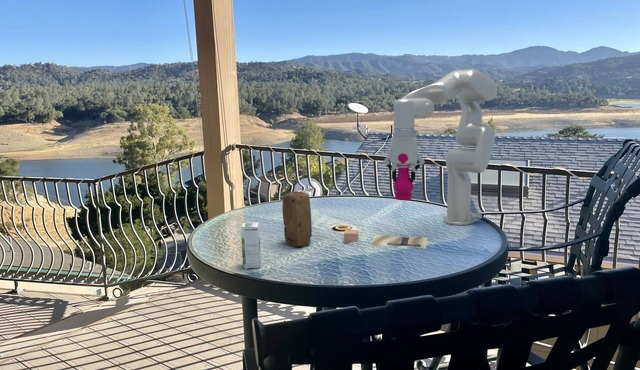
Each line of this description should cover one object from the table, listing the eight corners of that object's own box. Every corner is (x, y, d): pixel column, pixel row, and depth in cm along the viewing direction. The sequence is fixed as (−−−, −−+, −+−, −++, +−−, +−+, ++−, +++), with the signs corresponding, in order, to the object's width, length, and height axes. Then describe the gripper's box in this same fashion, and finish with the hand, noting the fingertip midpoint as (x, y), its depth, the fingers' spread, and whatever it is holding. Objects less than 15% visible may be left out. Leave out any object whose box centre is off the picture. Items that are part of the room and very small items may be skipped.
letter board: (427, 239, 180) (427, 237, 179) (425, 250, 167) (425, 248, 167) (375, 236, 185) (375, 234, 185) (370, 247, 172) (370, 245, 172)
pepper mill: (412, 200, 172) (413, 146, 169) (392, 200, 174) (393, 146, 170) (413, 196, 179) (414, 144, 176) (394, 196, 181) (394, 144, 177)
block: (314, 244, 178) (312, 193, 174) (298, 249, 173) (296, 196, 169) (296, 238, 186) (294, 189, 182) (281, 243, 181) (278, 192, 177)
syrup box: (244, 263, 161) (241, 222, 158) (261, 262, 161) (259, 221, 158) (243, 269, 155) (240, 227, 152) (261, 268, 156) (258, 226, 153)
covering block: (358, 239, 182) (358, 229, 182) (357, 243, 178) (357, 233, 177) (345, 239, 183) (345, 229, 183) (344, 243, 179) (343, 233, 178)
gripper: (428, 132, 173) (427, 180, 177) (382, 132, 178) (382, 179, 181) (427, 134, 166) (426, 184, 170) (378, 134, 171) (379, 182, 174)
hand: (403, 181), depth 175 cm, fingers closed on pepper mill, 5 cm apart
